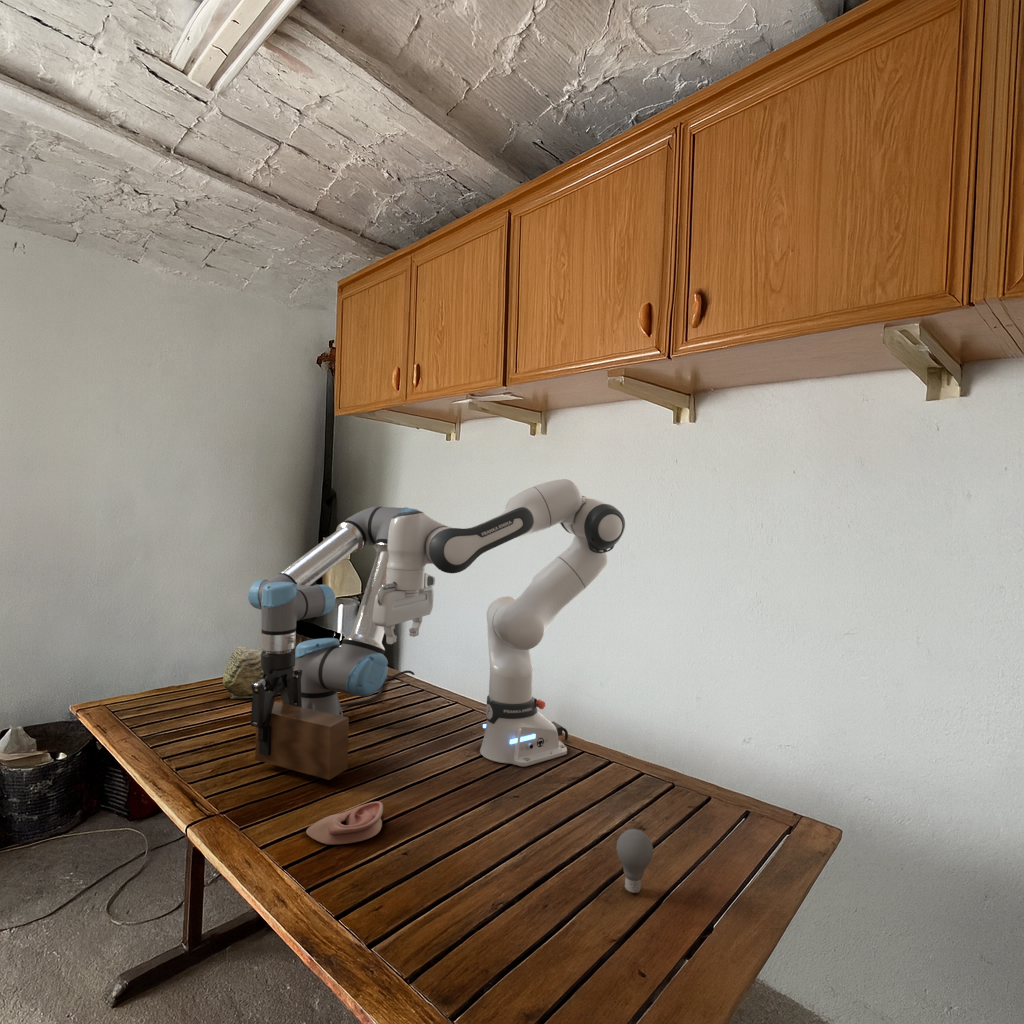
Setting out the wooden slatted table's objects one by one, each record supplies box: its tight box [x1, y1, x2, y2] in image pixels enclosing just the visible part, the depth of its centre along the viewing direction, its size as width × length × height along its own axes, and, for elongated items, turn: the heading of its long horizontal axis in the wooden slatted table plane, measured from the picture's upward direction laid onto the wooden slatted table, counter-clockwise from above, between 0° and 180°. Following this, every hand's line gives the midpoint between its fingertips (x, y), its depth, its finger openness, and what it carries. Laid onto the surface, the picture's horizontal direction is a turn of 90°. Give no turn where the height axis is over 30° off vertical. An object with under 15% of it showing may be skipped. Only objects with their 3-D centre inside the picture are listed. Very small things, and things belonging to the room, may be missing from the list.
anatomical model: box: [305, 800, 384, 846], centre depth 121 cm, size 13×4×12 cm
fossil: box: [222, 646, 281, 699], centre depth 198 cm, size 9×18×15 cm, turn 132°
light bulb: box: [615, 828, 654, 894], centre depth 106 cm, size 6×6×10 cm
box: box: [254, 701, 350, 781], centre depth 144 cm, size 21×6×12 cm, turn 66°
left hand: (276, 748), depth 147 cm, fingers closed on box, 6 cm apart
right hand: (402, 639), depth 148 cm, fingers open, 8 cm apart
